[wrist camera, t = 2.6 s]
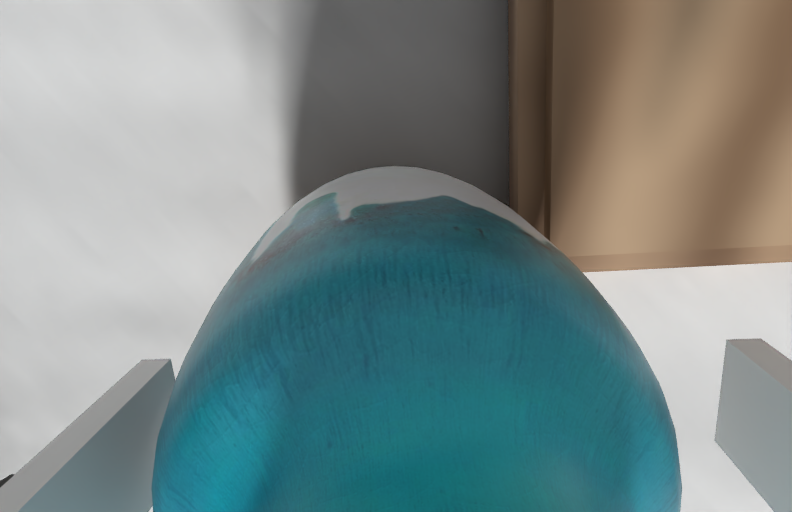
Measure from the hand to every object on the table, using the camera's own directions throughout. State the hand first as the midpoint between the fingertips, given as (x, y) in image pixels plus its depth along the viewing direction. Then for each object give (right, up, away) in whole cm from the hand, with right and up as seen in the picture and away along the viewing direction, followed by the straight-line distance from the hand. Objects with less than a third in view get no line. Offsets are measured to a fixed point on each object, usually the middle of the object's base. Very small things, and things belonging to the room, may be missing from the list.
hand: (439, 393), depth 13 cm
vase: (-1, +3, +10) cm, 10 cm away
